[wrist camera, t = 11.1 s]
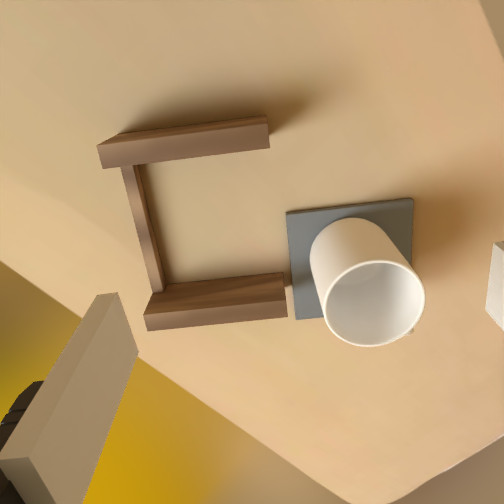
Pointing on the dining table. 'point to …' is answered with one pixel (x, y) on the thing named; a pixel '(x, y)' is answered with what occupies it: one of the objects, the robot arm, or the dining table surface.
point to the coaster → (314, 221)
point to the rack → (164, 296)
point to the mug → (365, 284)
